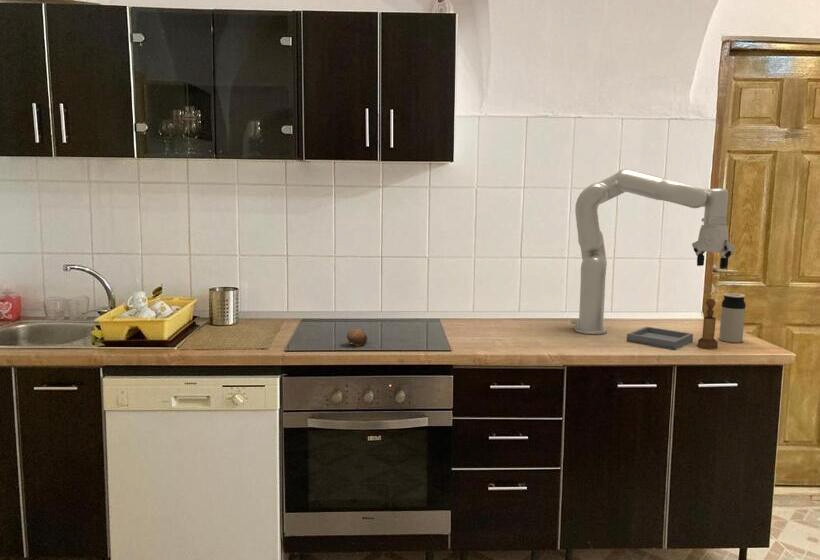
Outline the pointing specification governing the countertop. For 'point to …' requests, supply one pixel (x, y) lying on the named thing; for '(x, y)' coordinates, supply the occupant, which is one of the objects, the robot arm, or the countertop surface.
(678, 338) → the tray
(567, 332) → the countertop surface
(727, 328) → the travel mug
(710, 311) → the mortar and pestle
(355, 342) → the mushroom
